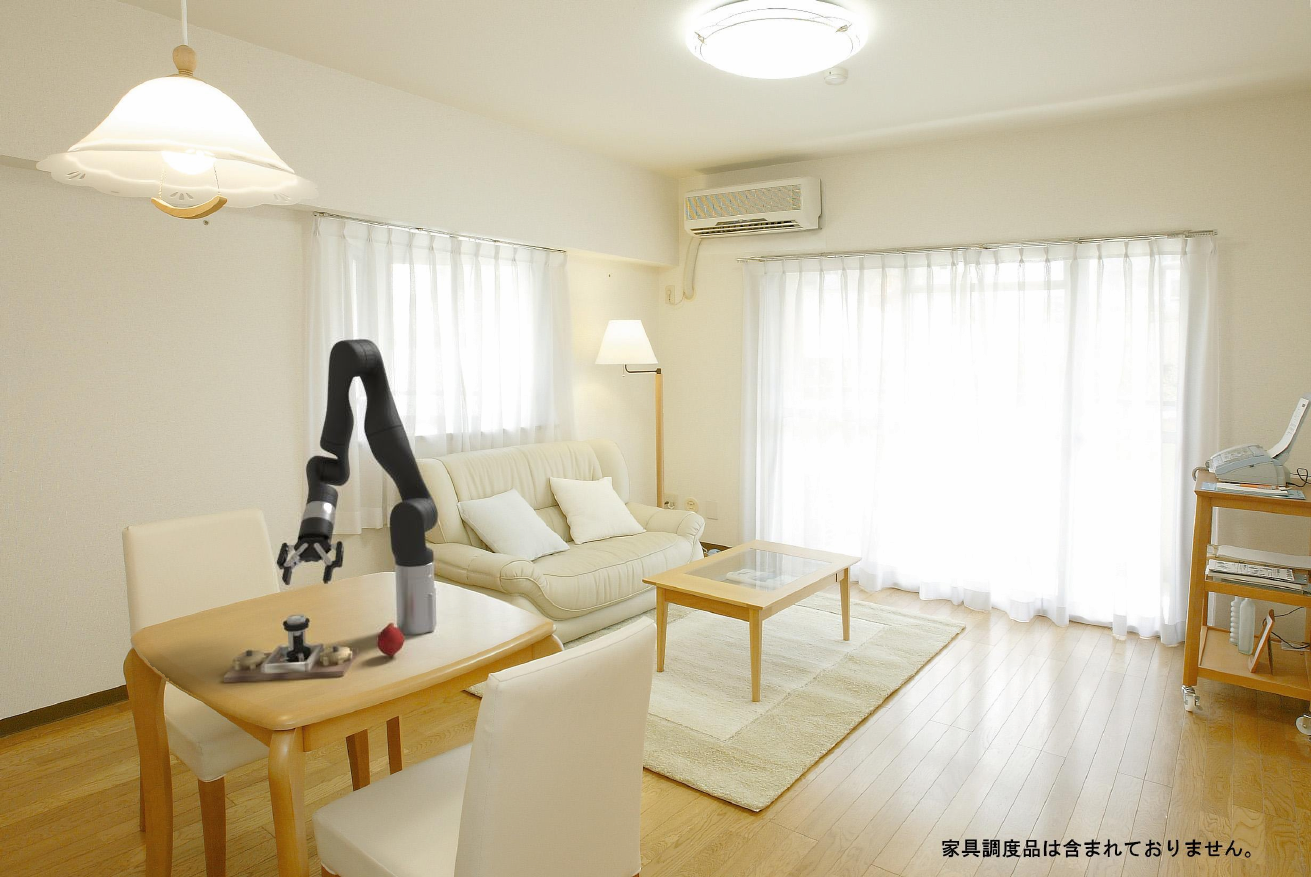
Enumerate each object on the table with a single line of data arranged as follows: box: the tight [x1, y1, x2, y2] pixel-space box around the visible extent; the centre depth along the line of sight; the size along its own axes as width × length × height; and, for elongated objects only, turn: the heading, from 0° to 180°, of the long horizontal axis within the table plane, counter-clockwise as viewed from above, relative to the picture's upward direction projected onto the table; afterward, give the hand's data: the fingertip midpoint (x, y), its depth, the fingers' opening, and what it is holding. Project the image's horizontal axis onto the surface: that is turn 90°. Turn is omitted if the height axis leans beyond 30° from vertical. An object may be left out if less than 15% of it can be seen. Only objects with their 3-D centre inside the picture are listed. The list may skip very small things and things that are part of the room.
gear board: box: [222, 643, 358, 684], centre depth 169 cm, size 25×13×4 cm, turn 99°
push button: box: [280, 613, 311, 663], centre depth 169 cm, size 7×5×10 cm
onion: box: [376, 621, 405, 658], centre depth 175 cm, size 6×6×8 cm
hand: (306, 582), depth 179 cm, fingers open, 8 cm apart
